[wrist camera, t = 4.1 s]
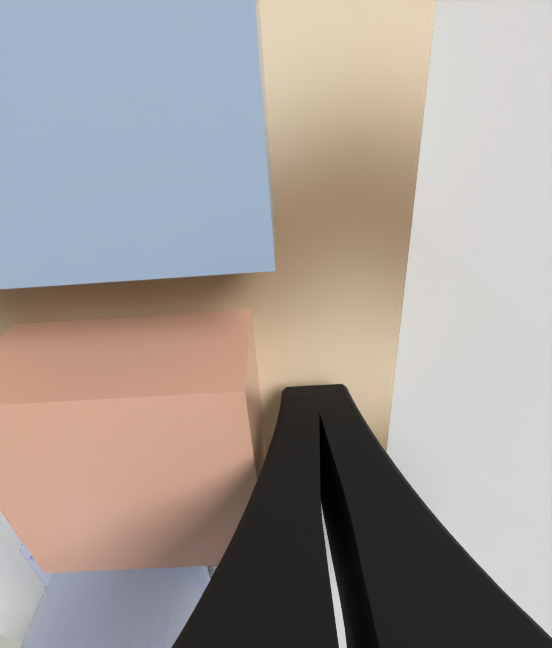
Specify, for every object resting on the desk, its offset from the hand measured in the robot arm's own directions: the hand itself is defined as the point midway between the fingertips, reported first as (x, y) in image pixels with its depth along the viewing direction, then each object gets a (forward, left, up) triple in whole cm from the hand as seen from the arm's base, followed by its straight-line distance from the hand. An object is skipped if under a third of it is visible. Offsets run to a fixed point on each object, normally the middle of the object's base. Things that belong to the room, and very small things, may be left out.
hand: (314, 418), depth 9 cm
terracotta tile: (0, +4, -1) cm, 4 cm away
